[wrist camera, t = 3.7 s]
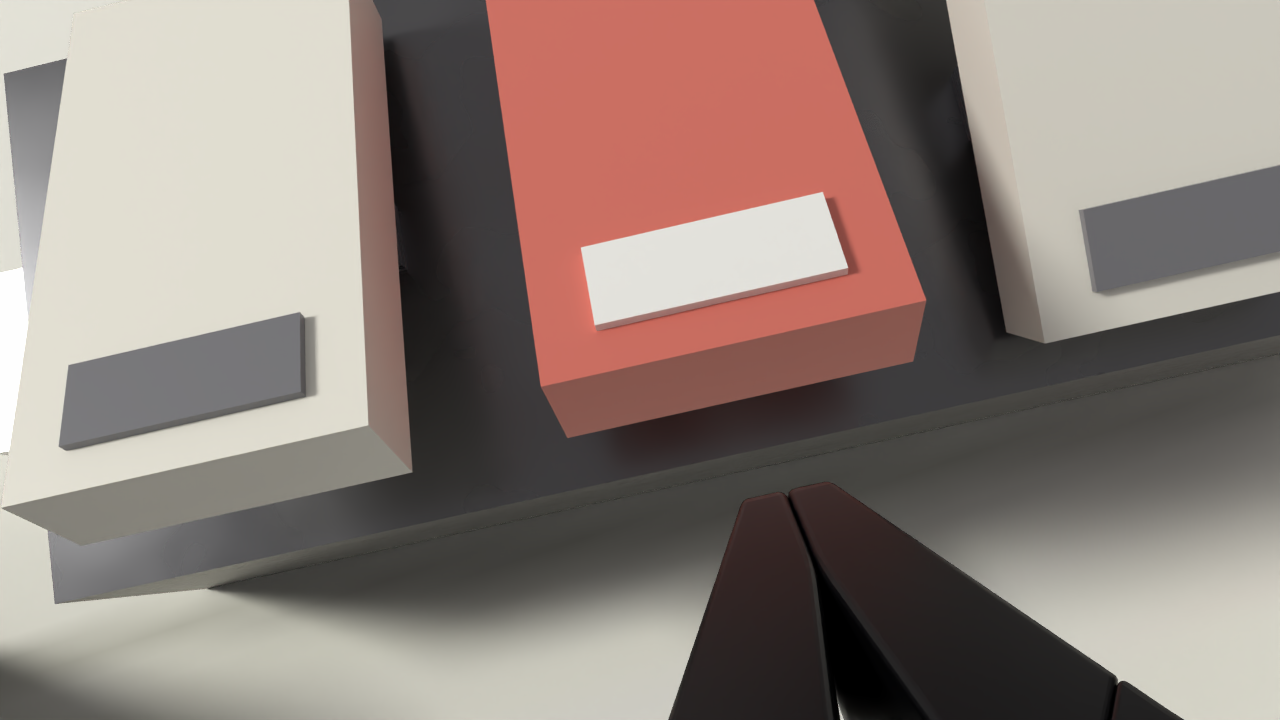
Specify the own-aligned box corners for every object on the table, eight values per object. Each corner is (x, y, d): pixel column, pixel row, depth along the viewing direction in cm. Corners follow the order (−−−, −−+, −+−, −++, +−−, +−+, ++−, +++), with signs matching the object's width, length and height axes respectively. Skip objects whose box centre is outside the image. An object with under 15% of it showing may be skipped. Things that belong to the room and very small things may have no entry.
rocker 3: (1302, 266, 16) (1382, 270, 14) (1006, 332, 16) (1048, 344, 14) (1218, -325, 15) (1293, -397, 13) (901, -247, 15) (933, -308, 13)
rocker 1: (412, 472, 14) (363, 420, 12) (81, 545, 14) (-8, 503, 12) (381, 19, 18) (342, -61, 17) (129, 80, 18) (68, 5, 17)
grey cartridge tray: (1296, 350, 21) (1537, 271, 15) (117, 607, 22) (-119, 635, 16) (1151, -68, 23) (1311, -294, 17) (72, 188, 24) (-155, 65, 18)
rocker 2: (913, 361, 13) (927, 293, 12) (567, 438, 14) (537, 381, 12) (759, -73, 18) (755, -163, 16) (498, -9, 18) (471, -93, 16)
